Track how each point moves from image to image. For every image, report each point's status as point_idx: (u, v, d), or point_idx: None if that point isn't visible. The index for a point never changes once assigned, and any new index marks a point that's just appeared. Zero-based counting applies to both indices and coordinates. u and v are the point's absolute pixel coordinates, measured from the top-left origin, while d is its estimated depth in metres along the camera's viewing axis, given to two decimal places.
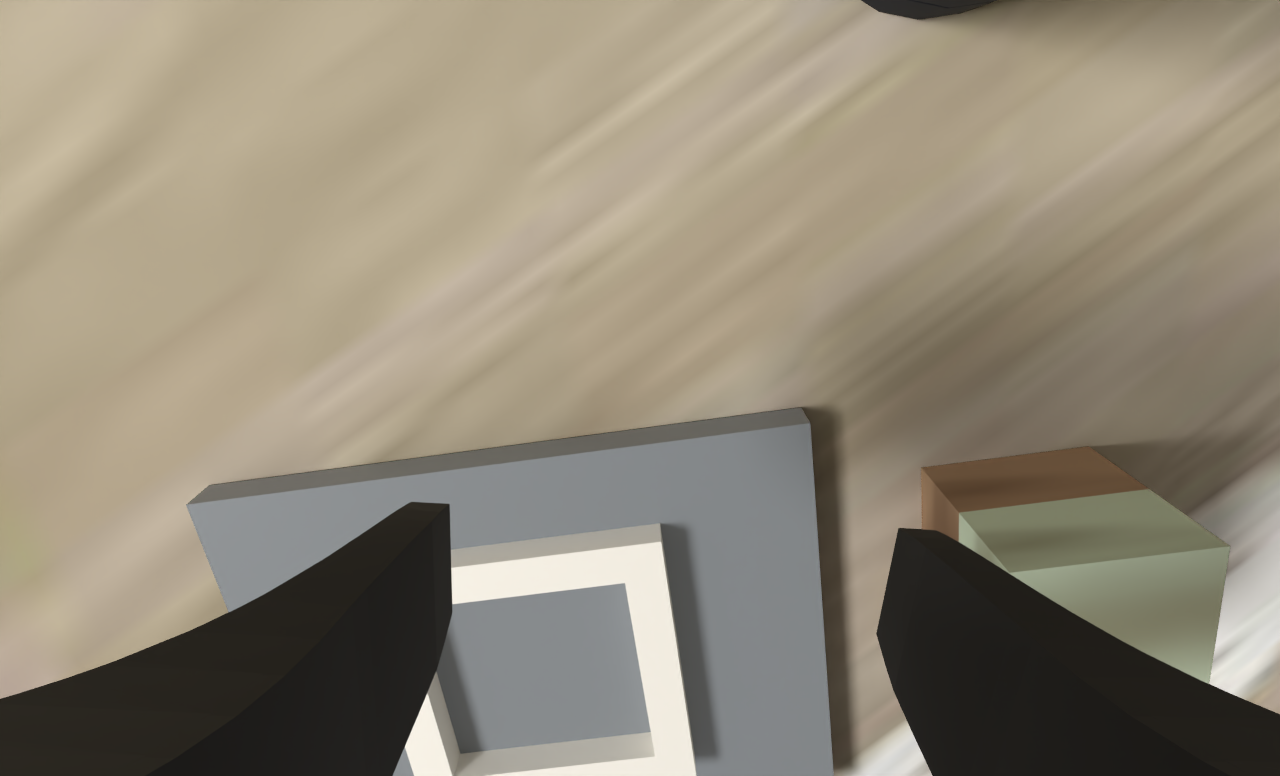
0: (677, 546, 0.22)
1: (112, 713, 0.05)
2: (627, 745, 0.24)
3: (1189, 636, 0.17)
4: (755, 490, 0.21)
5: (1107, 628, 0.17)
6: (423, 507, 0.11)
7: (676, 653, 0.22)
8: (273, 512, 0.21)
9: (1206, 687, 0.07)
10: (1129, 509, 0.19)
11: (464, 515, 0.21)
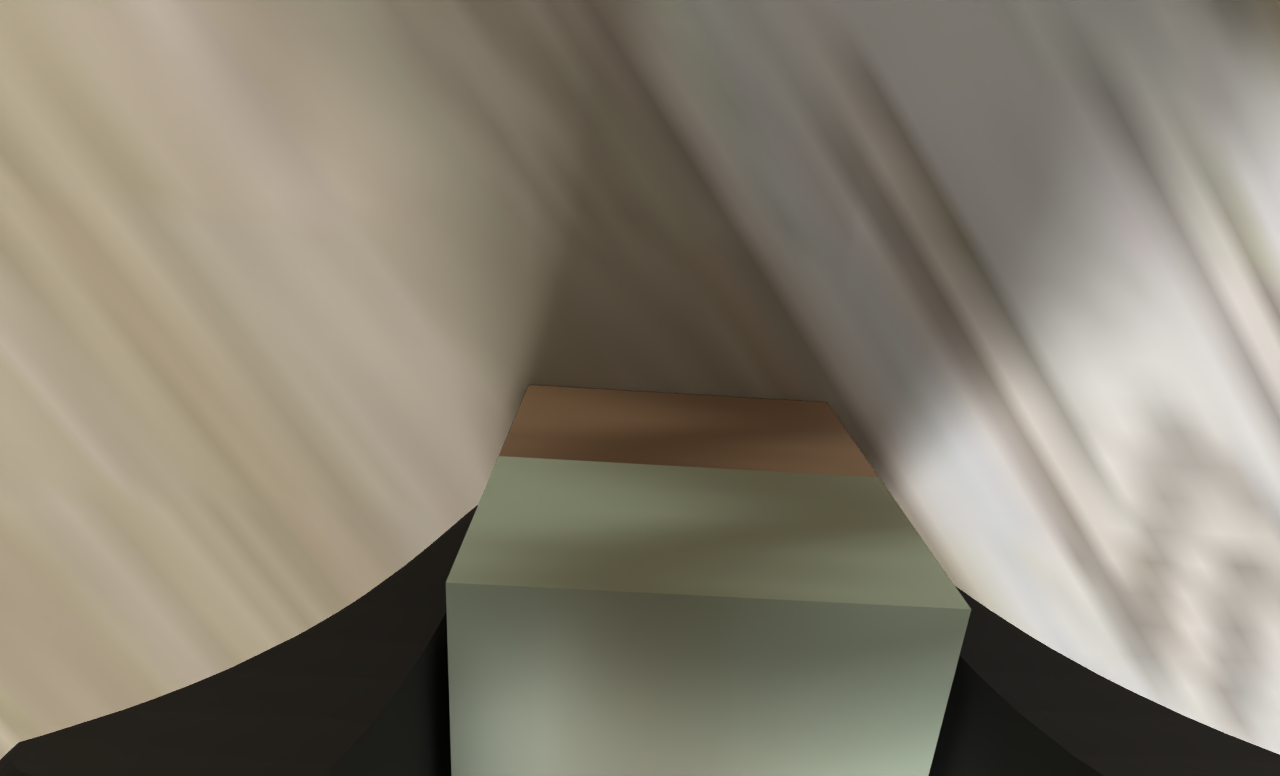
0: None
1: (252, 719, 0.05)
2: None
3: (698, 651, 0.07)
4: None
5: None
6: None
7: None
8: None
9: (1103, 682, 0.07)
10: None
11: None
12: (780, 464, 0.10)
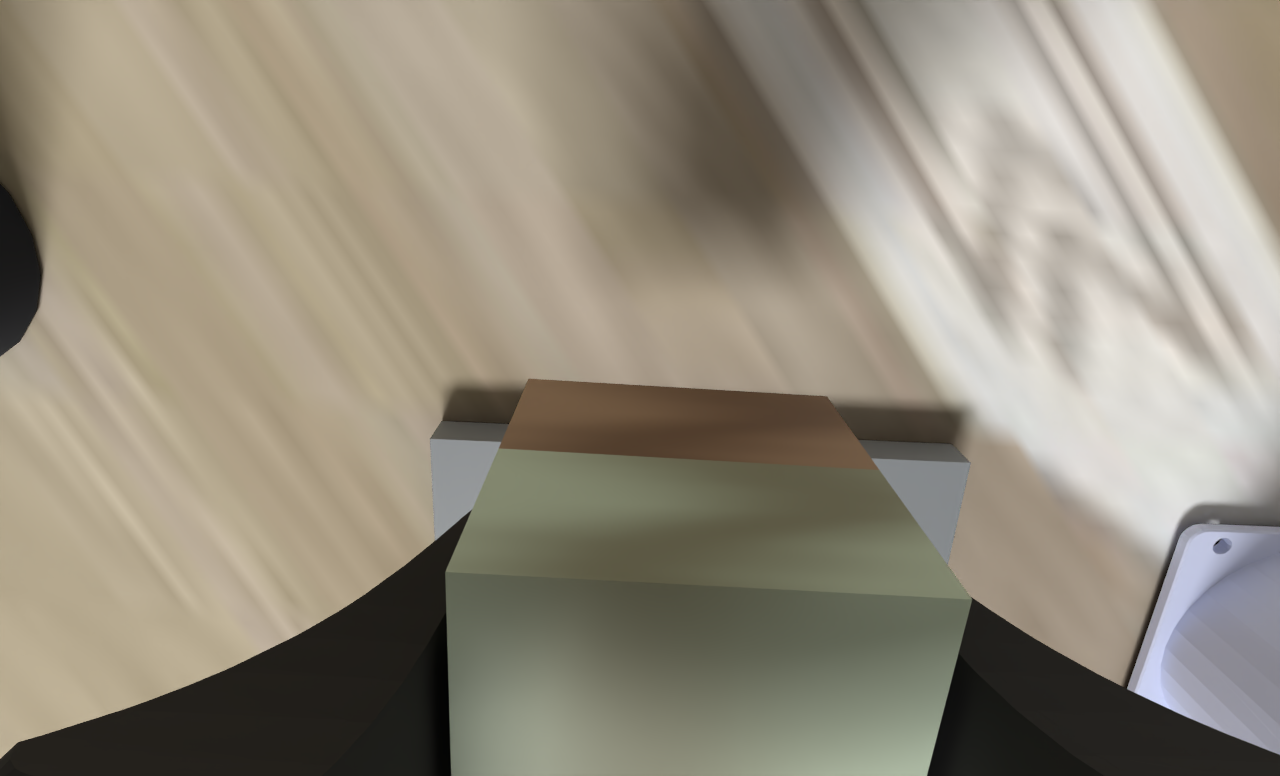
0: None
1: (251, 718, 0.05)
2: None
3: (698, 641, 0.07)
4: None
5: None
6: None
7: None
8: None
9: (1103, 682, 0.07)
10: None
11: None
12: (780, 457, 0.10)
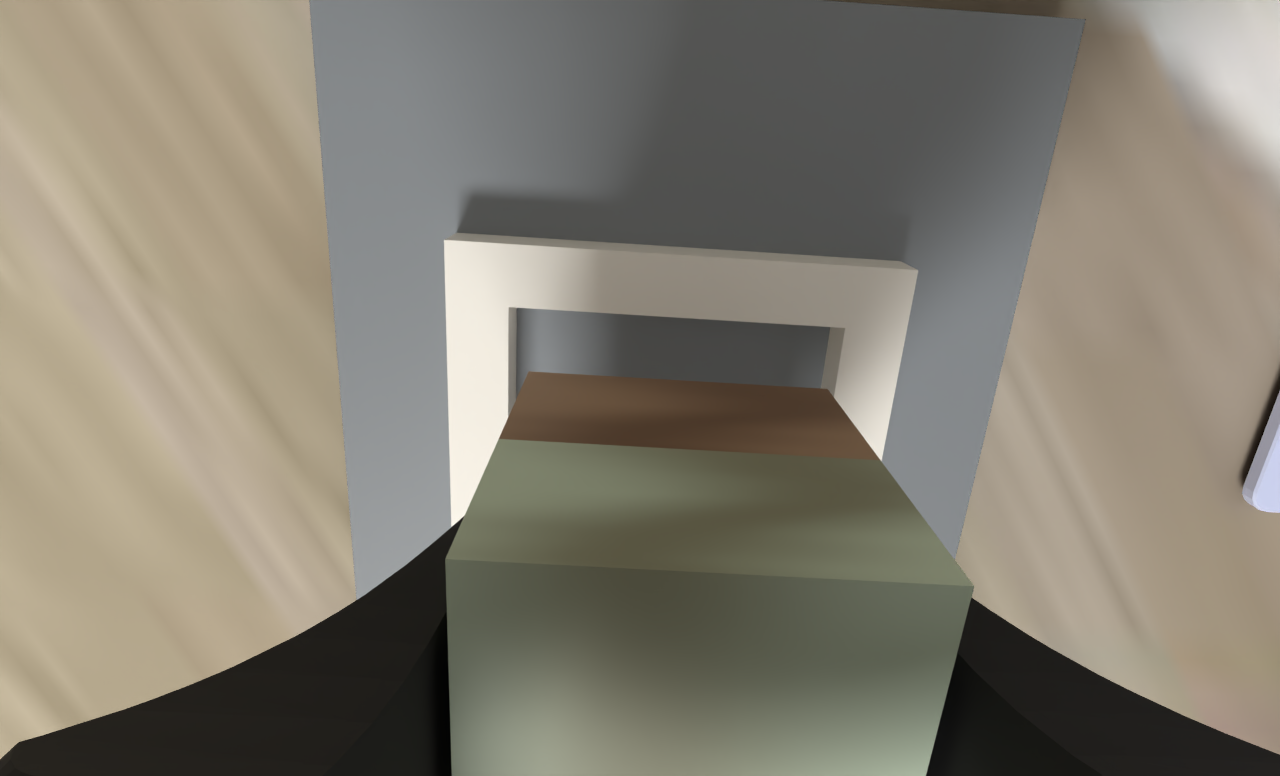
0: (499, 214, 0.14)
1: (252, 719, 0.05)
2: (831, 362, 0.15)
3: (699, 628, 0.07)
4: (416, 73, 0.13)
5: None
6: None
7: (650, 255, 0.14)
8: None
9: (1103, 682, 0.07)
10: None
11: (413, 482, 0.16)
12: (781, 447, 0.10)
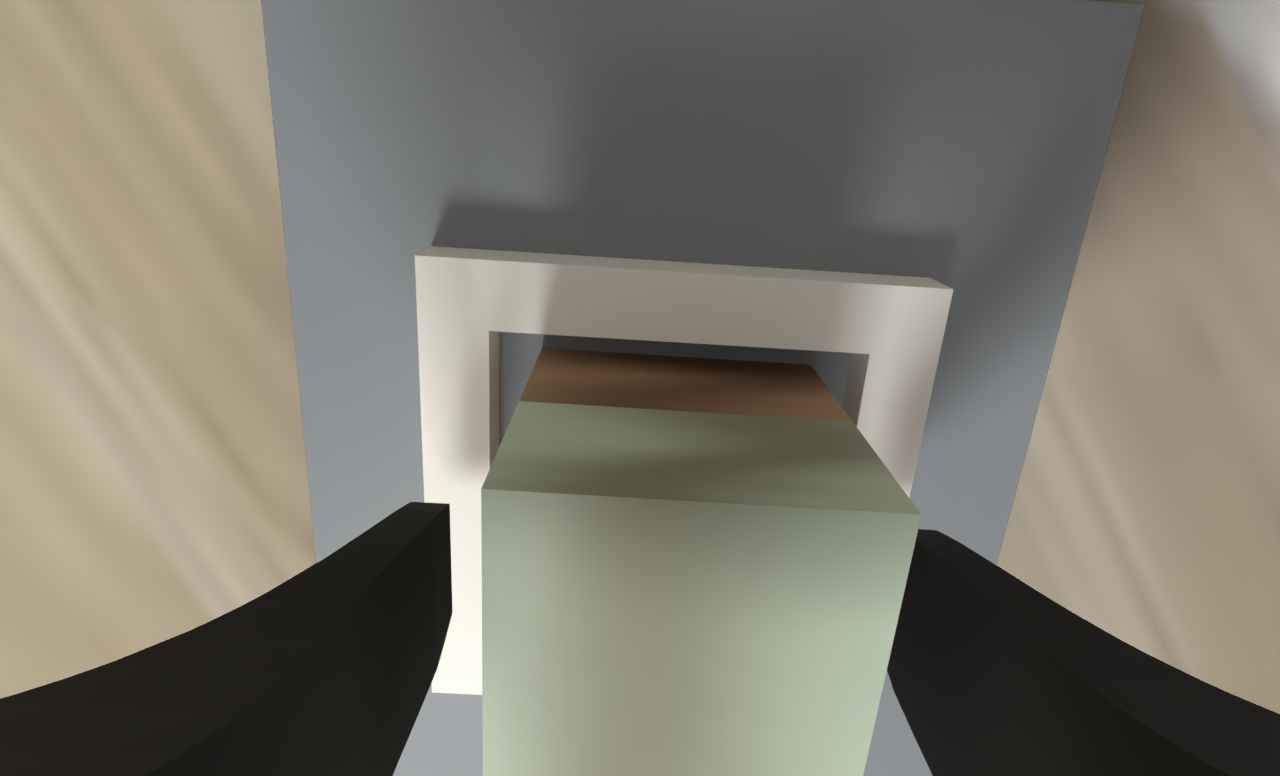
0: (479, 225, 0.13)
1: (114, 712, 0.05)
2: (852, 391, 0.13)
3: (692, 550, 0.08)
4: (384, 66, 0.12)
5: (636, 684, 0.09)
6: (424, 508, 0.11)
7: (649, 272, 0.12)
8: None
9: (1206, 687, 0.07)
10: None
11: None
12: (766, 410, 0.11)
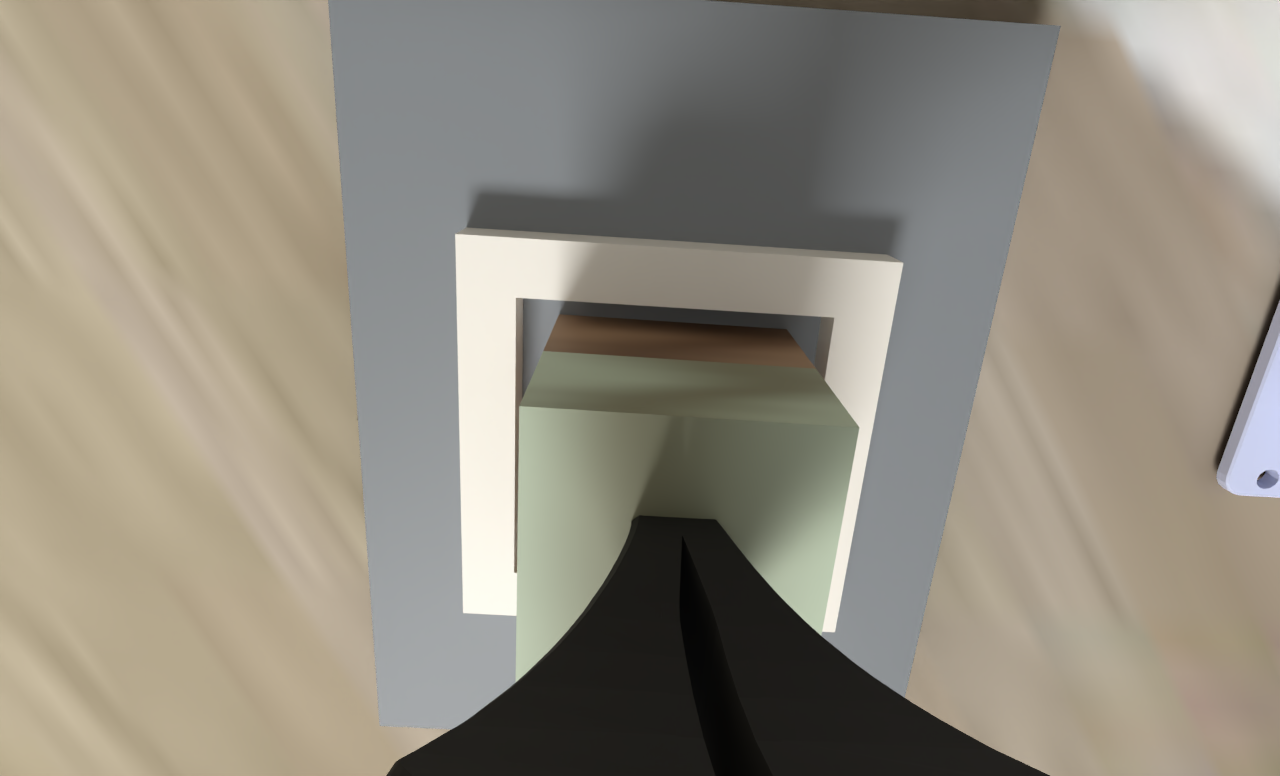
0: (507, 209, 0.15)
1: (588, 734, 0.05)
2: (821, 351, 0.16)
3: (682, 456, 0.11)
4: (429, 76, 0.14)
5: None
6: (660, 520, 0.11)
7: (650, 248, 0.14)
8: (397, 654, 0.19)
9: (852, 669, 0.07)
10: None
11: (424, 465, 0.17)
12: (745, 360, 0.14)
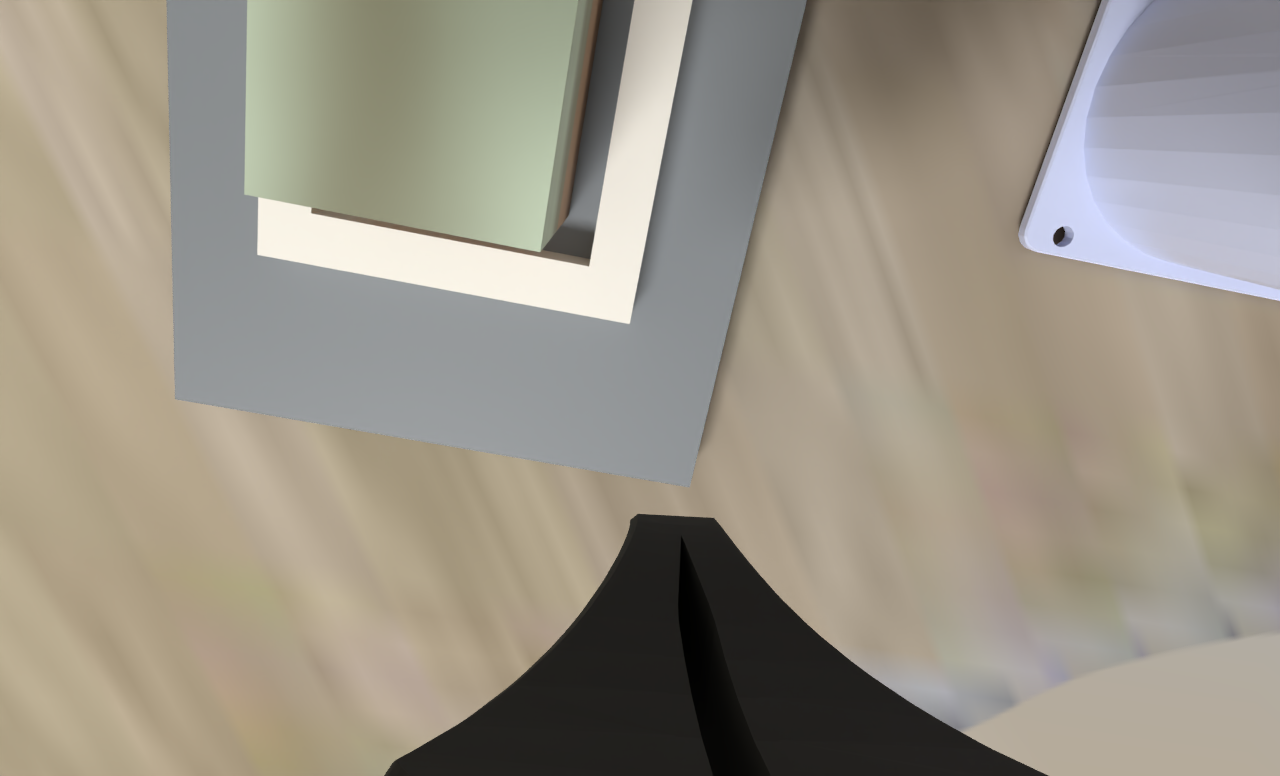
0: None
1: (586, 734, 0.05)
2: None
3: None
4: None
5: (369, 65, 0.12)
6: (658, 520, 0.11)
7: None
8: (197, 316, 0.19)
9: (851, 670, 0.07)
10: None
11: (234, 98, 0.17)
12: None
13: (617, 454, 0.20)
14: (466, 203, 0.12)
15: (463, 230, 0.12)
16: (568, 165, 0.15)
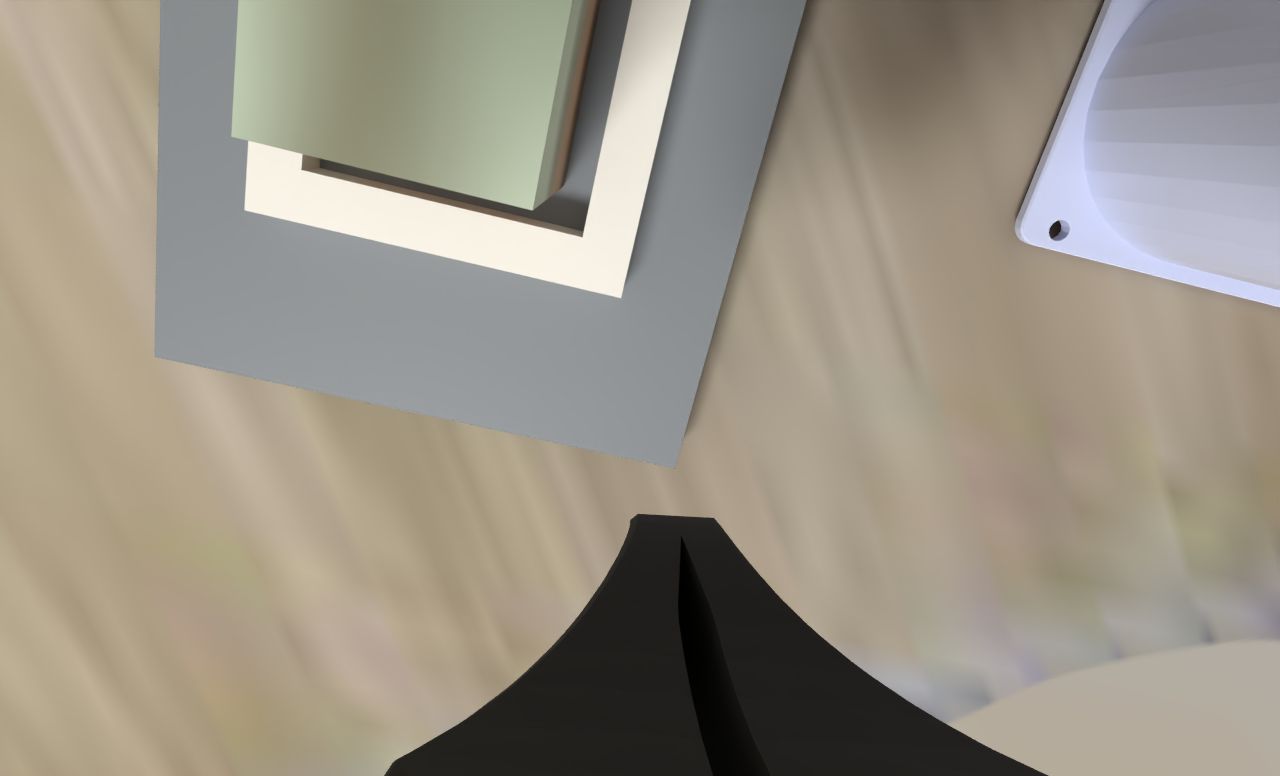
0: None
1: (585, 734, 0.05)
2: None
3: None
4: None
5: (366, 8, 0.11)
6: (659, 520, 0.11)
7: None
8: (180, 273, 0.18)
9: (851, 670, 0.07)
10: None
11: (227, 49, 0.17)
12: None
13: (603, 432, 0.20)
14: (459, 156, 0.12)
15: (455, 184, 0.12)
16: (565, 130, 0.15)
